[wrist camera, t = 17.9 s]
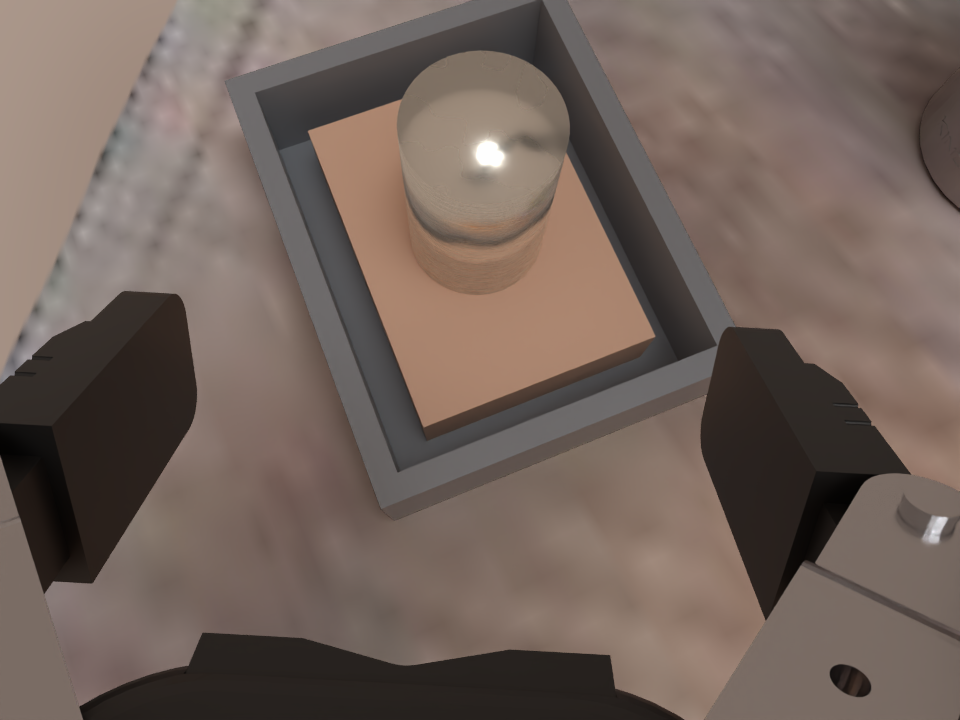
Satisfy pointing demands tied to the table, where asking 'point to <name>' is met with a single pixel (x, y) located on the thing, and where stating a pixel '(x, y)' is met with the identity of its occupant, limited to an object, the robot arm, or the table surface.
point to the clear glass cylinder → (480, 167)
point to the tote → (347, 302)
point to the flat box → (479, 318)
